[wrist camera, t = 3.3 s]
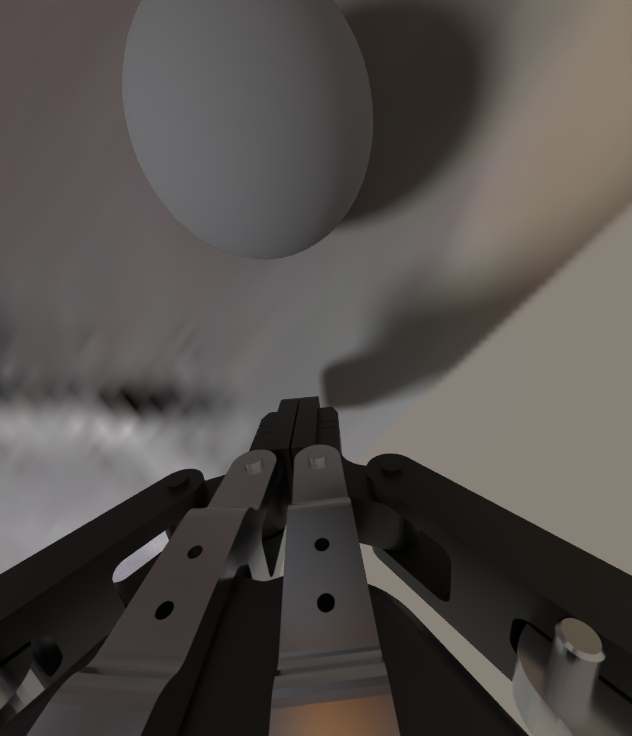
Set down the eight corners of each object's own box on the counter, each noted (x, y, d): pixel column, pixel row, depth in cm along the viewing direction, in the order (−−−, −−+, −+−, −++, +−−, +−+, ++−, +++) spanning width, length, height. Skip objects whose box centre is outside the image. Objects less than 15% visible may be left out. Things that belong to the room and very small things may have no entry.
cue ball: (155, 138, 11) (-36, 5, 5) (299, 12, 9) (259, -349, 4) (256, 289, 12) (197, 315, 7) (390, 198, 11) (456, 137, 5)
